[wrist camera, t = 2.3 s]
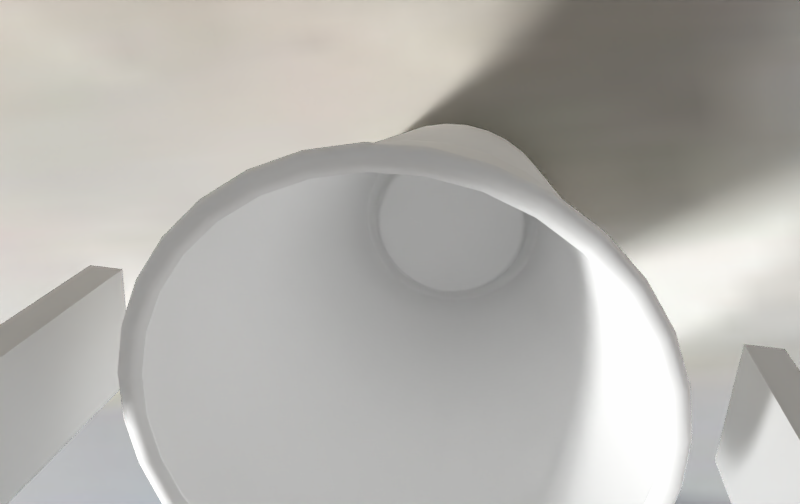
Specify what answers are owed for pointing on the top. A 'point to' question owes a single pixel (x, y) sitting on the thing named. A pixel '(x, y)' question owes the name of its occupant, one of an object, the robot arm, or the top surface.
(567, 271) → the cup
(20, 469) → the robot arm
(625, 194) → the top surface
